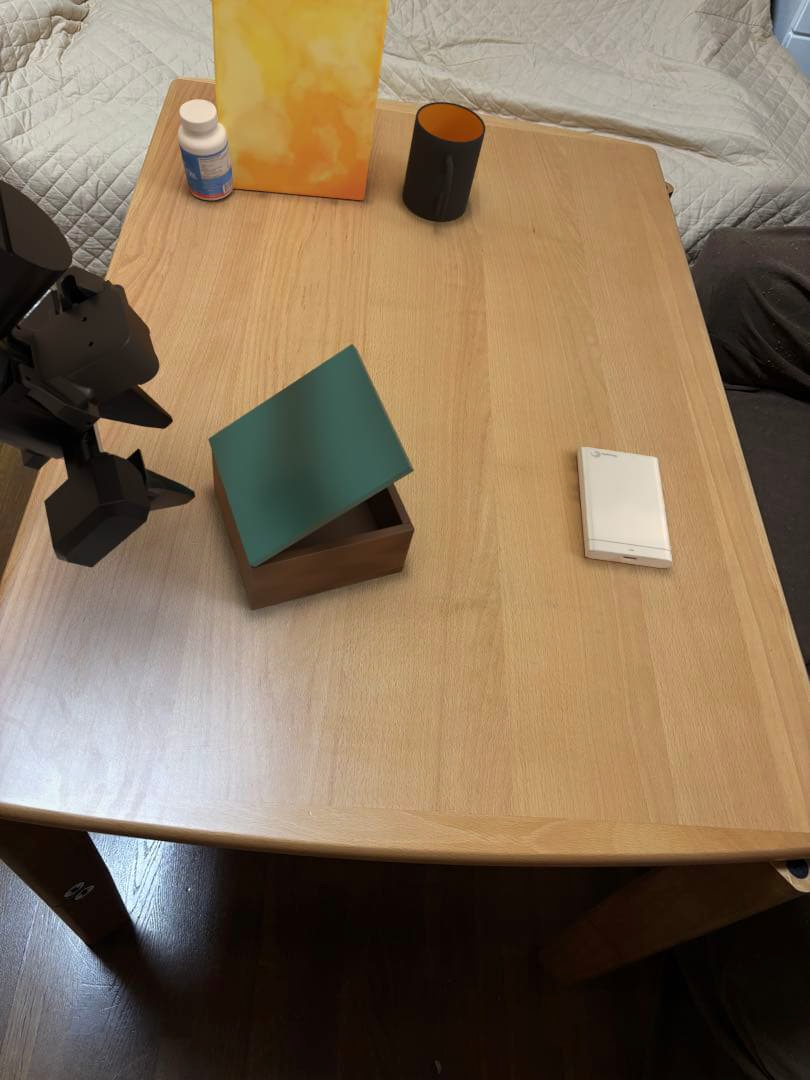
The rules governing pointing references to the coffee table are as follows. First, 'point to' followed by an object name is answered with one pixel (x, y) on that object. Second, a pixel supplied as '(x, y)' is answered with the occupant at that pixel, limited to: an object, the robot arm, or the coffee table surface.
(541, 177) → the coffee table surface
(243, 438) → the lid
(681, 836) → the coffee table surface
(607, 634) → the coffee table surface
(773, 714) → the coffee table surface
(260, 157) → the mottled yellow carton
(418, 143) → the mug
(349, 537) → the box
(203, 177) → the pill bottle
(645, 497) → the hard drive
